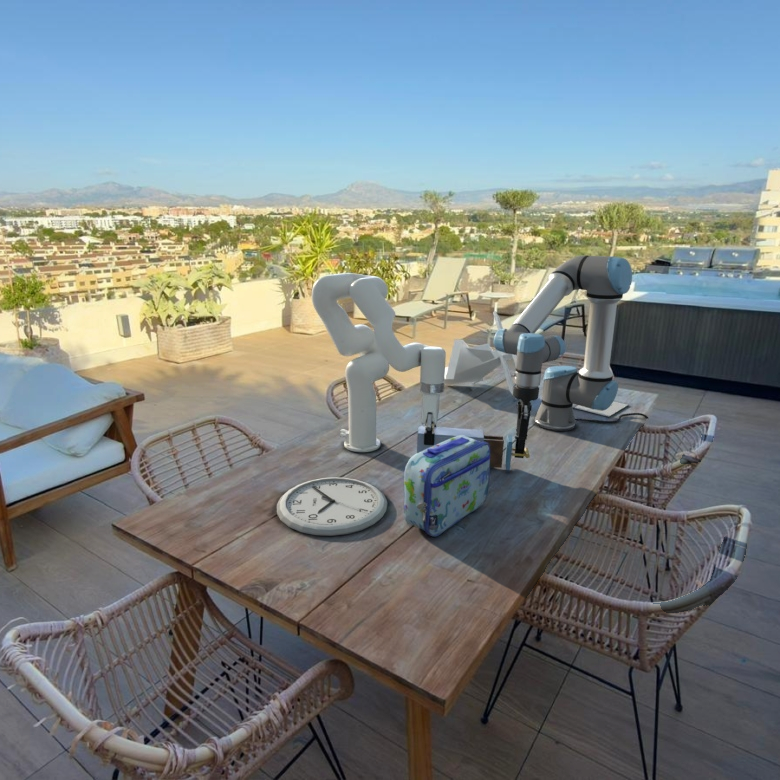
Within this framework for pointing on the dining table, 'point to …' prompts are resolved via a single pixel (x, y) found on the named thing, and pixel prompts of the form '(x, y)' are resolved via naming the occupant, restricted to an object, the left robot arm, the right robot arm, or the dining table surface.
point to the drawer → (501, 450)
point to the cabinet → (446, 435)
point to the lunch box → (446, 483)
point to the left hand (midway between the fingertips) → (429, 439)
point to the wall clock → (331, 506)
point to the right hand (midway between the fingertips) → (518, 456)
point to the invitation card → (608, 412)
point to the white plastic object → (476, 362)
